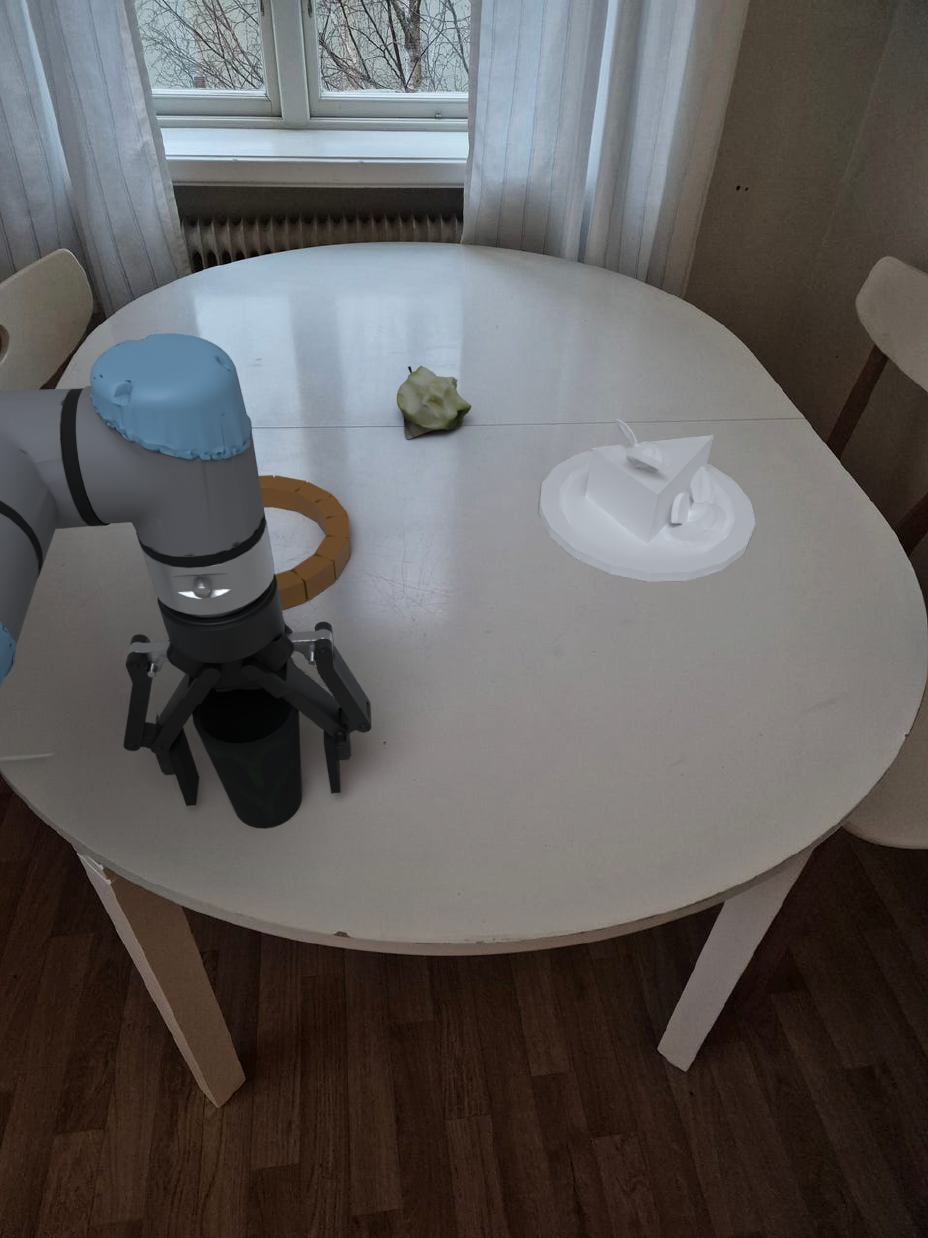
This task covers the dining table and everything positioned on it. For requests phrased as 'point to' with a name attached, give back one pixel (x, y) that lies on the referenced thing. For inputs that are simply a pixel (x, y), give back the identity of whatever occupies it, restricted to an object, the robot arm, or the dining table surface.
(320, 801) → the dining table surface
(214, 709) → the cup
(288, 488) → the orange-brown segmented ring
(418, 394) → the fruit
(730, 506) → the dish
